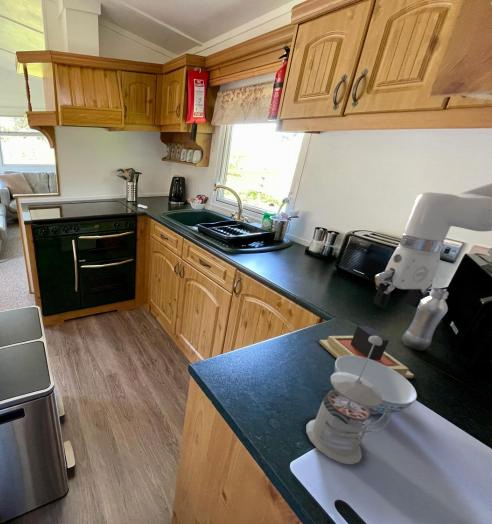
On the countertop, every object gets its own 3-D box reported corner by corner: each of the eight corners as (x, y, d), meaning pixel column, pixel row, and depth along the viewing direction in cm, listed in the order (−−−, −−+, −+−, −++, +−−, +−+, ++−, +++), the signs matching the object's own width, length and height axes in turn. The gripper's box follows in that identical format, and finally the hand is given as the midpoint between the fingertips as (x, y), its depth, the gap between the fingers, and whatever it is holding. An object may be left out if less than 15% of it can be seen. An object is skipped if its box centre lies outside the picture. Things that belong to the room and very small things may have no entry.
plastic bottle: (395, 342, 93) (421, 287, 86) (407, 339, 96) (432, 284, 89) (419, 355, 88) (448, 297, 81) (431, 350, 91) (460, 294, 84)
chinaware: (325, 371, 78) (334, 347, 75) (395, 395, 71) (407, 370, 69) (326, 409, 66) (337, 383, 63) (410, 443, 59) (426, 415, 56)
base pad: (363, 341, 93) (366, 334, 92) (412, 378, 78) (417, 369, 77) (318, 342, 91) (321, 335, 90) (360, 379, 76) (364, 371, 75)
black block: (359, 344, 90) (368, 322, 87) (392, 368, 79) (403, 344, 77) (336, 344, 89) (345, 322, 86) (366, 369, 78) (377, 345, 76)
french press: (301, 413, 64) (336, 316, 55) (360, 429, 61) (407, 330, 52) (312, 454, 55) (355, 346, 46) (382, 475, 52) (442, 364, 44)
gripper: (404, 248, 67) (379, 312, 73) (467, 249, 69) (437, 311, 75) (376, 239, 74) (355, 298, 80) (433, 240, 76) (409, 298, 82)
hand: (395, 305), depth 77 cm, fingers open, 9 cm apart
